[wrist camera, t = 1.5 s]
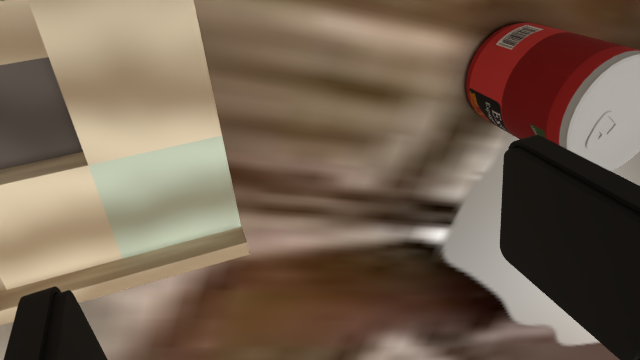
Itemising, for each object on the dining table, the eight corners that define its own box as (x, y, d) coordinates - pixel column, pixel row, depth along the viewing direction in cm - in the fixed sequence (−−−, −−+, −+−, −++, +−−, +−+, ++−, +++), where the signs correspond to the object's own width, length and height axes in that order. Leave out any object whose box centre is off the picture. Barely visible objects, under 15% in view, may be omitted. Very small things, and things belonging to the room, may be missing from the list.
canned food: (446, 104, 39) (545, 161, 30) (495, 3, 37) (619, 33, 28) (513, 129, 43) (620, 187, 34) (563, 39, 40) (693, 75, 31)
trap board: (-338, -361, 19) (-455, -432, 15) (113, -354, 22) (111, -409, 19) (3, 282, 34) (-12, 328, 30) (236, 220, 38) (249, 254, 34)
